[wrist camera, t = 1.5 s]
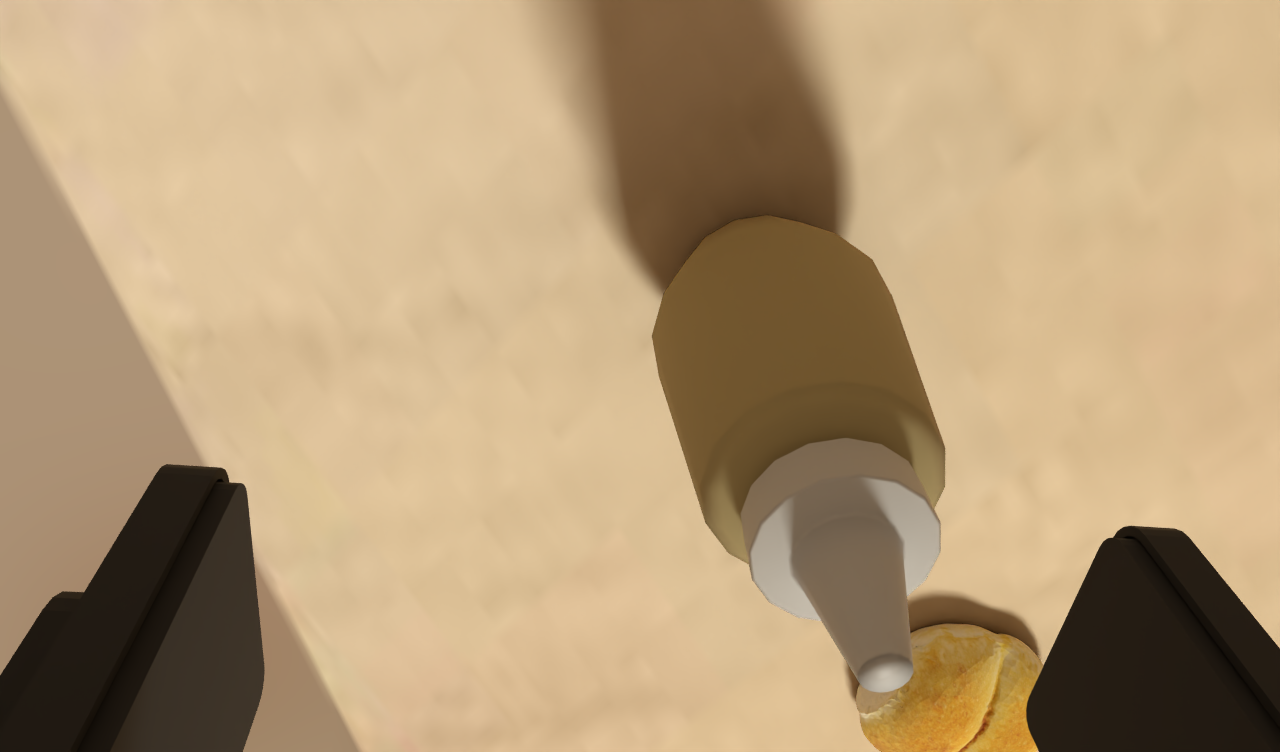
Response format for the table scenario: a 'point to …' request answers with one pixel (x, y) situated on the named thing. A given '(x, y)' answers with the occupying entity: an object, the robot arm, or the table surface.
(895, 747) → the bread roll
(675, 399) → the squeeze bottle
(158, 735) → the robot arm
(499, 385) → the table surface
